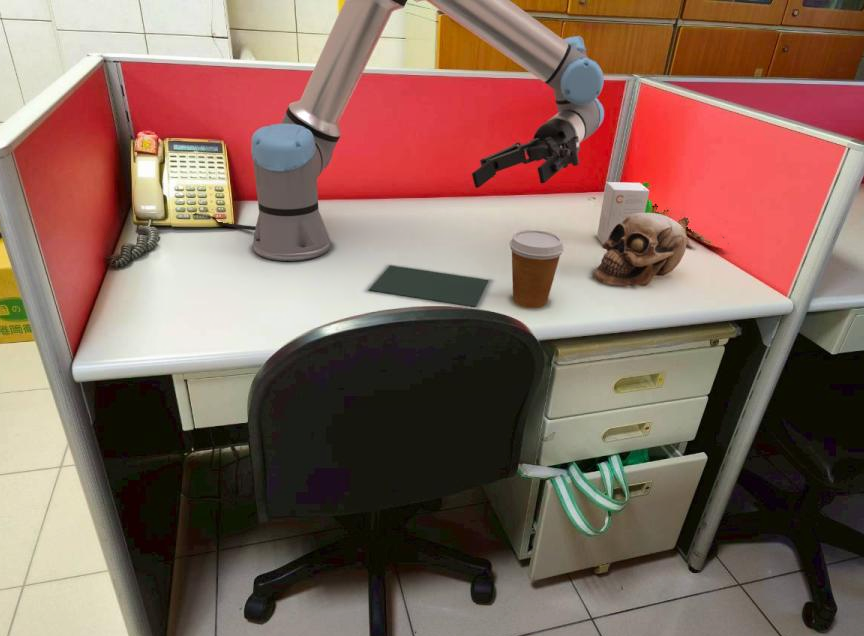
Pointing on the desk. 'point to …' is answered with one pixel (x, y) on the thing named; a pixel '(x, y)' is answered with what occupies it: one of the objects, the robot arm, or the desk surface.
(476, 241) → the desk surface
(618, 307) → the desk surface
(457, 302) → the desk mat
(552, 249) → the disposable coffee cup
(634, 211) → the small box
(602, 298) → the desk surface
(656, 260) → the beige brown skull
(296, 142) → the robot arm
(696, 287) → the desk surface
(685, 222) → the brown jagged long piece
